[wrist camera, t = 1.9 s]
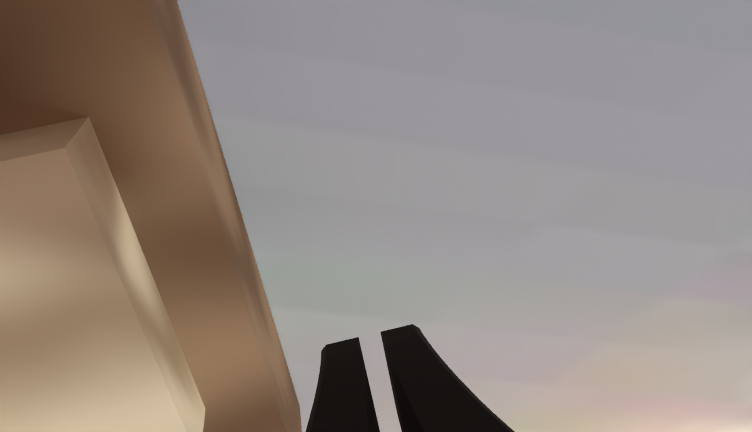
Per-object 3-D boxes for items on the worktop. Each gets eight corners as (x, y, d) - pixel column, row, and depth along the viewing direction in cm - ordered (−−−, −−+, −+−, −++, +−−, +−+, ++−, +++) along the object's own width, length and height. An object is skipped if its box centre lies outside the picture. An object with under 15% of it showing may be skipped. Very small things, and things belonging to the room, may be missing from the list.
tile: (205, 408, 18) (199, 463, 17) (-4, 459, 18) (-33, 520, 16) (88, 116, 14) (64, 148, 12) (-188, 174, 14) (-253, 215, 12)
